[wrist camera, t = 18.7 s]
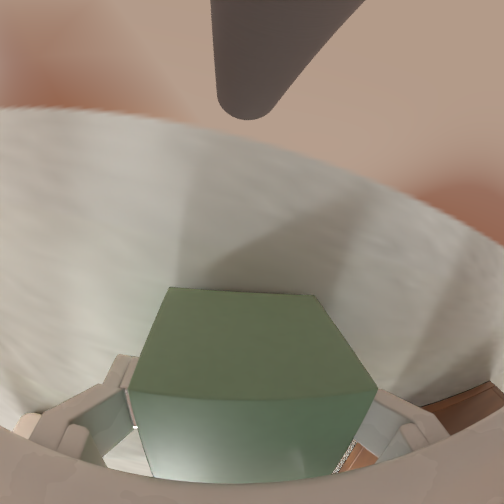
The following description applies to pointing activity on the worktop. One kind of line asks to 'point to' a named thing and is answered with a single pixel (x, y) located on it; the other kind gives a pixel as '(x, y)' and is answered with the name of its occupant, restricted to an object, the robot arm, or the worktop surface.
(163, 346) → the block
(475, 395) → the chest
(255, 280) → the worktop surface
